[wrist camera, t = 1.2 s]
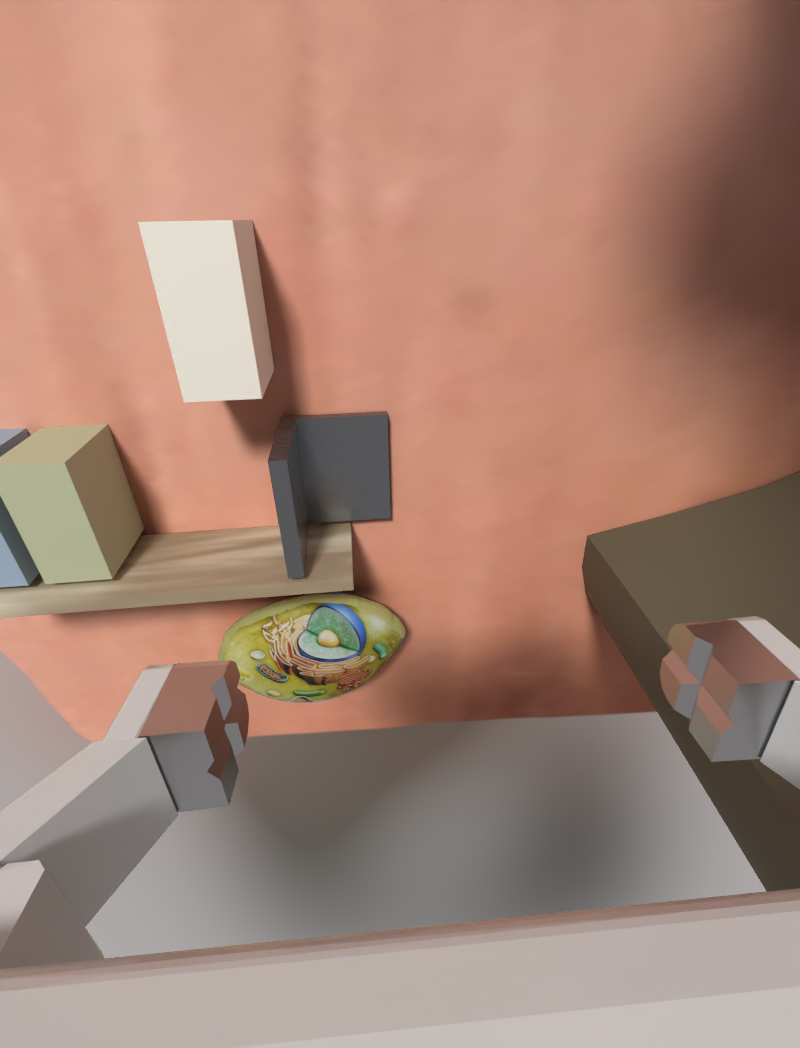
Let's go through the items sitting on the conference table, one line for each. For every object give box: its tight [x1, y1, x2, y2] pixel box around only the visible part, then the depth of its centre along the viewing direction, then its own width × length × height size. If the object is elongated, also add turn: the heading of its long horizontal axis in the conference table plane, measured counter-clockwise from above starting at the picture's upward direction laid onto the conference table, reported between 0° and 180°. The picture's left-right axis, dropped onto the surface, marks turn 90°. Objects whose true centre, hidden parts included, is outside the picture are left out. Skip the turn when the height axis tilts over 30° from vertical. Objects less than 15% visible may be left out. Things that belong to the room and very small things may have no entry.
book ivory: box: [138, 220, 274, 402], centre depth 26 cm, size 8×4×6 cm, turn 1°
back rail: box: [0, 521, 354, 618], centre depth 31 cm, size 10×25×7 cm, turn 91°
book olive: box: [0, 424, 144, 584], centre depth 31 cm, size 8×4×6 cm, turn 1°
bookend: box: [268, 411, 391, 579], centre depth 32 cm, size 8×7×7 cm
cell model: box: [219, 592, 406, 702], centre depth 40 cm, size 10×8×14 cm
